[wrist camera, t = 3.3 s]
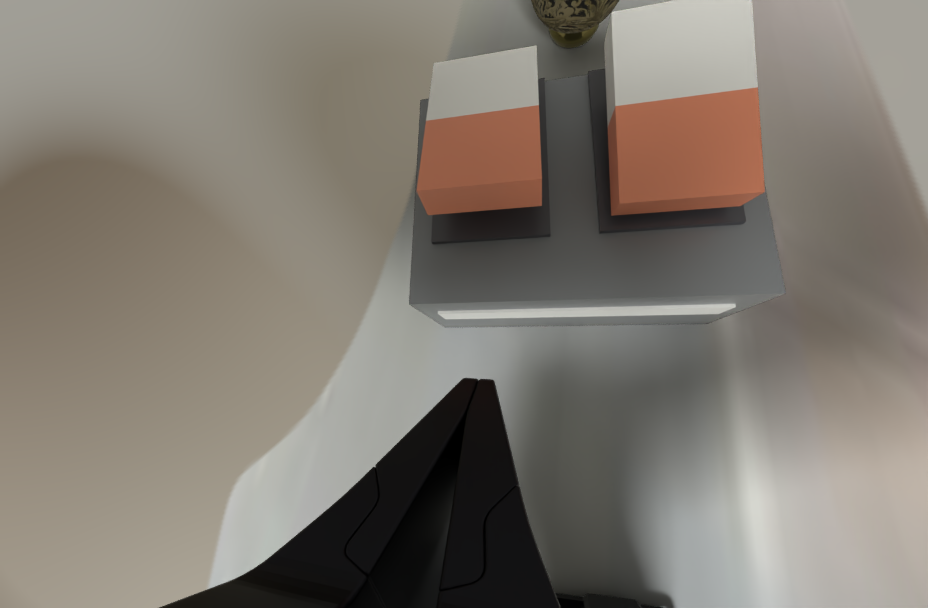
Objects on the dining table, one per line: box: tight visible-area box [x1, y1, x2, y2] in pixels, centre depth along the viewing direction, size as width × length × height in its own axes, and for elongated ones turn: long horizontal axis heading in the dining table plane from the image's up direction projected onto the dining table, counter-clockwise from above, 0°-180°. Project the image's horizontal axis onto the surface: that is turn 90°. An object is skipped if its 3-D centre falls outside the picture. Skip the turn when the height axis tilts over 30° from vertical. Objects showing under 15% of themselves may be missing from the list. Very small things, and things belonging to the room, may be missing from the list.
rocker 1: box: [417, 45, 542, 215], centre depth 16 cm, size 8×5×2 cm, turn 179°
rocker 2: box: [604, 0, 765, 216], centre depth 15 cm, size 8×5×2 cm, turn 179°
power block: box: [409, 69, 786, 327], centre depth 20 cm, size 12×16×7 cm
